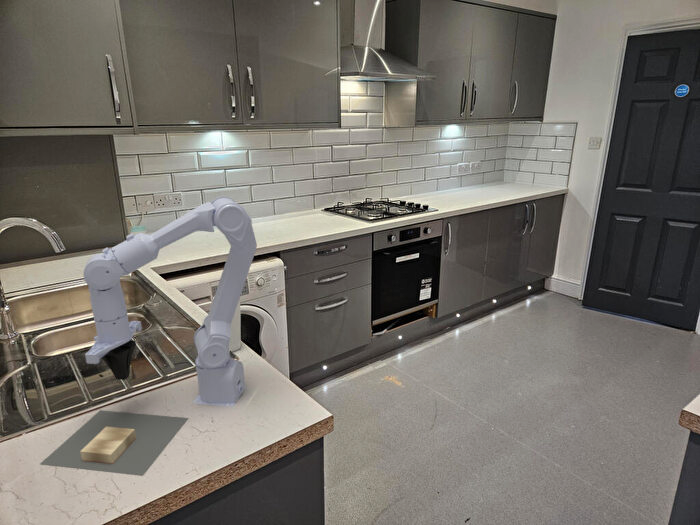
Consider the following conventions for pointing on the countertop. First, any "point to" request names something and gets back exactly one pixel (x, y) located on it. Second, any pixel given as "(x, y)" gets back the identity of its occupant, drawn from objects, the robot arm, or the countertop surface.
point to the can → (138, 230)
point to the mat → (136, 458)
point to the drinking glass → (235, 330)
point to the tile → (108, 445)
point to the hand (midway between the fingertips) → (122, 377)
